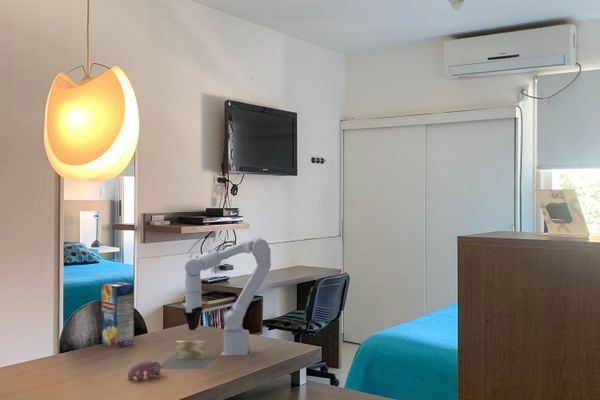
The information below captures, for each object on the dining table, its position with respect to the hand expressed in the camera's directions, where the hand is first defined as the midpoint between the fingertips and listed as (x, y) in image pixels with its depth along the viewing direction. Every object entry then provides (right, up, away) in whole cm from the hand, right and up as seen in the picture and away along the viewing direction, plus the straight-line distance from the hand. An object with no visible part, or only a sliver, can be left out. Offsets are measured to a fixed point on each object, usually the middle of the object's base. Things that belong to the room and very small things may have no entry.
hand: (193, 328), depth 210 cm
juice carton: (-34, -11, +19) cm, 40 cm away
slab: (0, -9, -6) cm, 11 cm away
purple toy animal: (-11, -10, -27) cm, 31 cm away
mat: (0, -10, -10) cm, 14 cm away
